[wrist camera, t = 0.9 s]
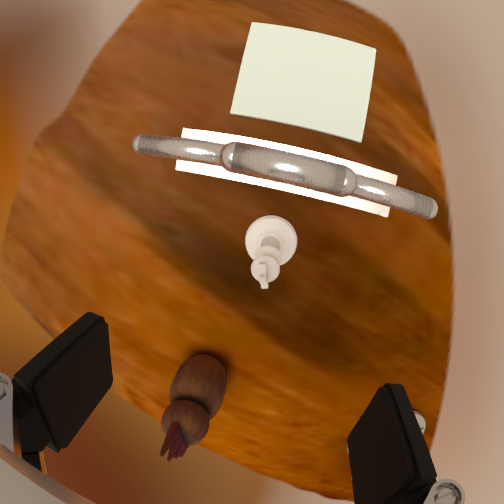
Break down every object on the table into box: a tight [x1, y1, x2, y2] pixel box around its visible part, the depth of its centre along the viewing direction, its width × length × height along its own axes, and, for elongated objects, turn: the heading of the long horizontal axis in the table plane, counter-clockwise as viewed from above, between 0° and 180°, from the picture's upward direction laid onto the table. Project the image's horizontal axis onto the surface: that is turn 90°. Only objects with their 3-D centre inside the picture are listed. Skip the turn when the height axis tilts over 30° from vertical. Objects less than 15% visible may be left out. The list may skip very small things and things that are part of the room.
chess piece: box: [245, 215, 297, 289], centre depth 23 cm, size 5×5×10 cm
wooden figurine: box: [160, 354, 227, 462], centre depth 26 cm, size 7×6×15 cm
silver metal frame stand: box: [132, 128, 438, 219], centre depth 18 cm, size 4×20×17 cm, turn 79°
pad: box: [230, 22, 376, 143], centre depth 23 cm, size 10×12×1 cm
